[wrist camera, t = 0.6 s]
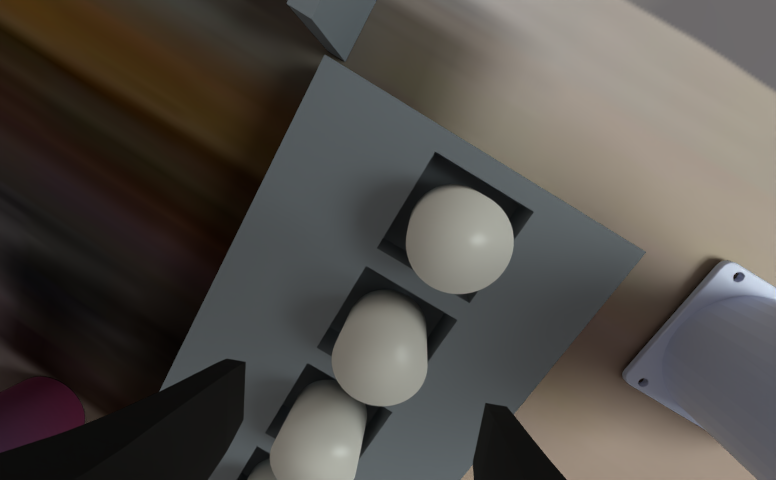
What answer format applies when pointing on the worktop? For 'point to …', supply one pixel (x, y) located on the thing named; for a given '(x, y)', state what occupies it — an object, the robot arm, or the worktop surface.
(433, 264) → the button
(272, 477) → the button
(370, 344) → the button
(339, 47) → the card
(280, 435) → the button
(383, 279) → the board
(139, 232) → the worktop surface
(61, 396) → the cup
